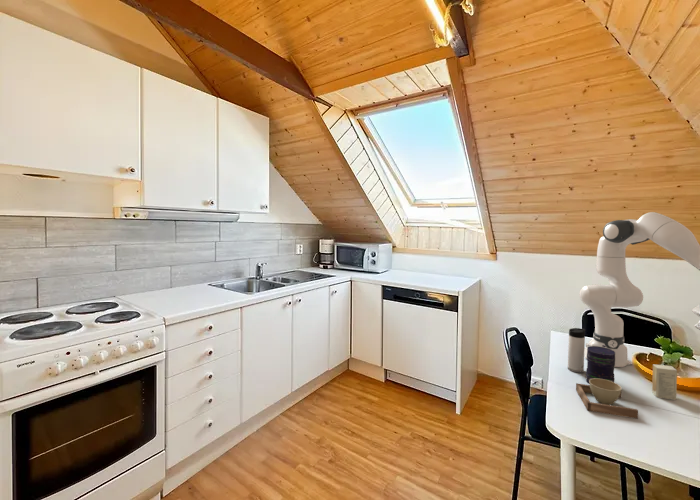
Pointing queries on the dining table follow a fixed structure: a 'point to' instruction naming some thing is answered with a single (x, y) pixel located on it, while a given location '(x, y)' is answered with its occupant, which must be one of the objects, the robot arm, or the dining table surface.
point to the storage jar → (600, 363)
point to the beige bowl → (605, 390)
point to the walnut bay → (603, 407)
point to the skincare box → (664, 381)
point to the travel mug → (576, 350)
